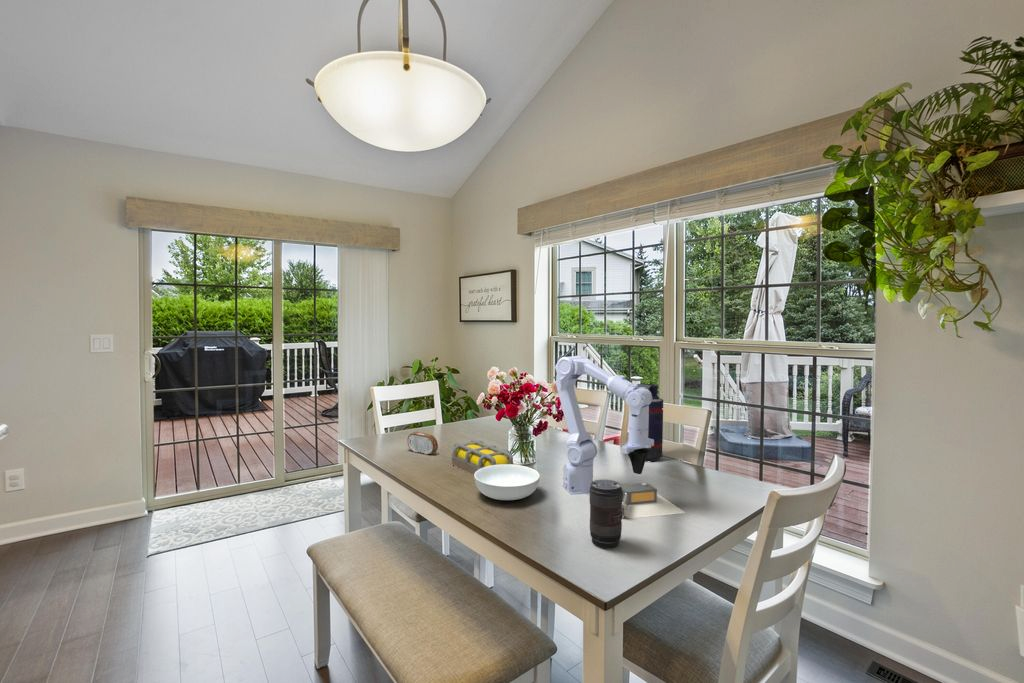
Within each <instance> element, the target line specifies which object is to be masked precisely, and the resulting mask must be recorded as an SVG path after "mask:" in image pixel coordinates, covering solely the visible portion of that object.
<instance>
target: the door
mask: <svg viewBox="0 0 1024 683" xmlns="http://www.w3.org/2000/svg"><path fill="white" fill-rule="evenodd" d="M627 506H628V493H625V497H624V500H623V503H622V507H621V513H622V519H625V517H626V516H625V512H626V509H627Z"/></svg>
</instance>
